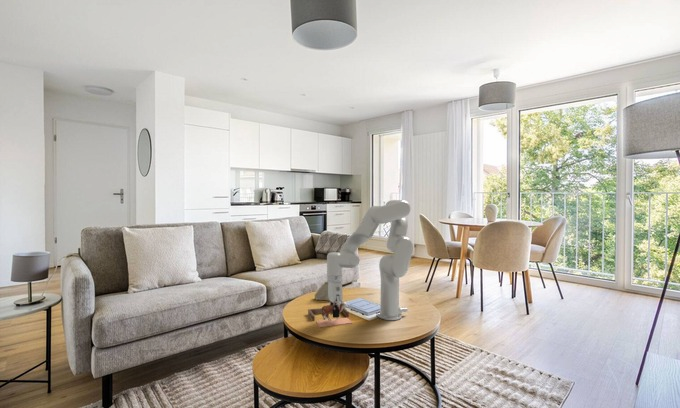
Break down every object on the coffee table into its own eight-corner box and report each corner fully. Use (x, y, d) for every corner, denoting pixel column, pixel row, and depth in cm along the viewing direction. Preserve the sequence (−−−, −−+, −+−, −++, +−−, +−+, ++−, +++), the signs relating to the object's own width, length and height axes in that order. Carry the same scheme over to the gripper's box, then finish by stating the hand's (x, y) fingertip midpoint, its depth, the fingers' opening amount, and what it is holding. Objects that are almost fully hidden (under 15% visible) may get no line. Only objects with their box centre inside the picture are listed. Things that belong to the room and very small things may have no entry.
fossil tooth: (315, 299, 196) (340, 298, 195) (313, 302, 190) (339, 300, 189) (314, 280, 197) (338, 279, 195) (312, 282, 191) (337, 281, 189)
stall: (342, 310, 174) (342, 305, 174) (348, 316, 164) (348, 312, 164) (308, 314, 168) (308, 309, 168) (312, 321, 158) (312, 316, 158)
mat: (347, 318, 162) (347, 317, 162) (351, 323, 156) (351, 322, 156) (316, 321, 157) (316, 321, 157) (319, 327, 151) (319, 326, 151)
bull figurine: (348, 318, 157) (348, 302, 157) (322, 322, 152) (322, 305, 152) (345, 315, 161) (345, 299, 161) (319, 319, 156) (319, 302, 156)
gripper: (347, 281, 149) (347, 320, 150) (336, 273, 165) (336, 308, 166) (332, 283, 147) (332, 322, 147) (322, 274, 163) (322, 310, 163)
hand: (334, 315), depth 156 cm, fingers closed on bull figurine, 4 cm apart
